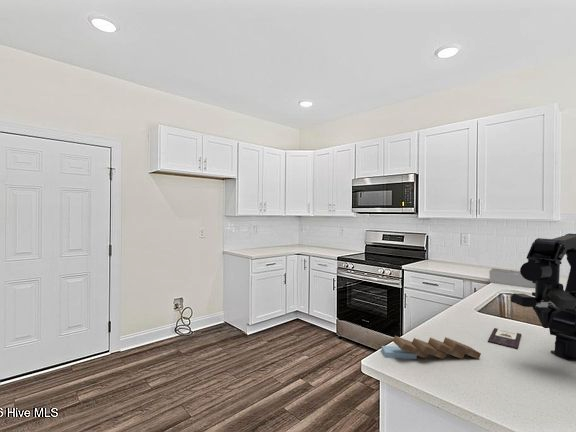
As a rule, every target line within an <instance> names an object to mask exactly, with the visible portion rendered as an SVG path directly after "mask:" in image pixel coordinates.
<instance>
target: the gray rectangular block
mask: <svg viewBox="0 0 576 432" xmlns="http://www.w3.org/2000/svg"><path fill="white" fill-rule="evenodd" d="M488 274H489V278H488V279H489V283H490V284H498V285H506V286H511V287H518V288H527V289H535V284H536V283H532V281H529V280H526V279H525V278H524V277H523V276H522V275H521V273H520V270H512V269H502V268H495V267H492V268H491V269H490V270H489V273H488Z"/></svg>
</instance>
